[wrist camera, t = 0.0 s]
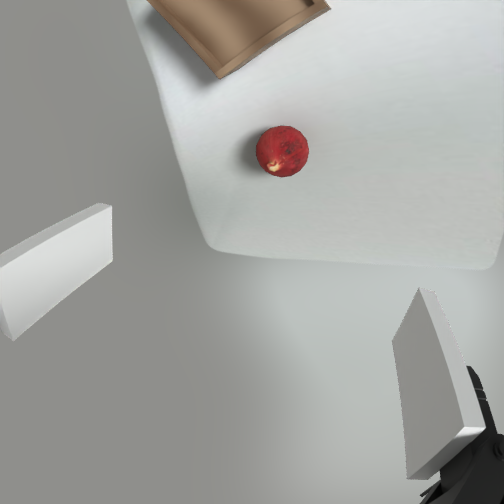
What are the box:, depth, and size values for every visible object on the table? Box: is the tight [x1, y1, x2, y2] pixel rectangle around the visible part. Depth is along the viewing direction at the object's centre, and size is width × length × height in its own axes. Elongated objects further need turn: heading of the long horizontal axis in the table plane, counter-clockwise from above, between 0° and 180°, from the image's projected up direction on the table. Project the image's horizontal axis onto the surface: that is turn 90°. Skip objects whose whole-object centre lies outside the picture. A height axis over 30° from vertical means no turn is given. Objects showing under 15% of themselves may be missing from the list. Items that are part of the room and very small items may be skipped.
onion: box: [256, 126, 309, 177], centre depth 34 cm, size 6×6×8 cm
